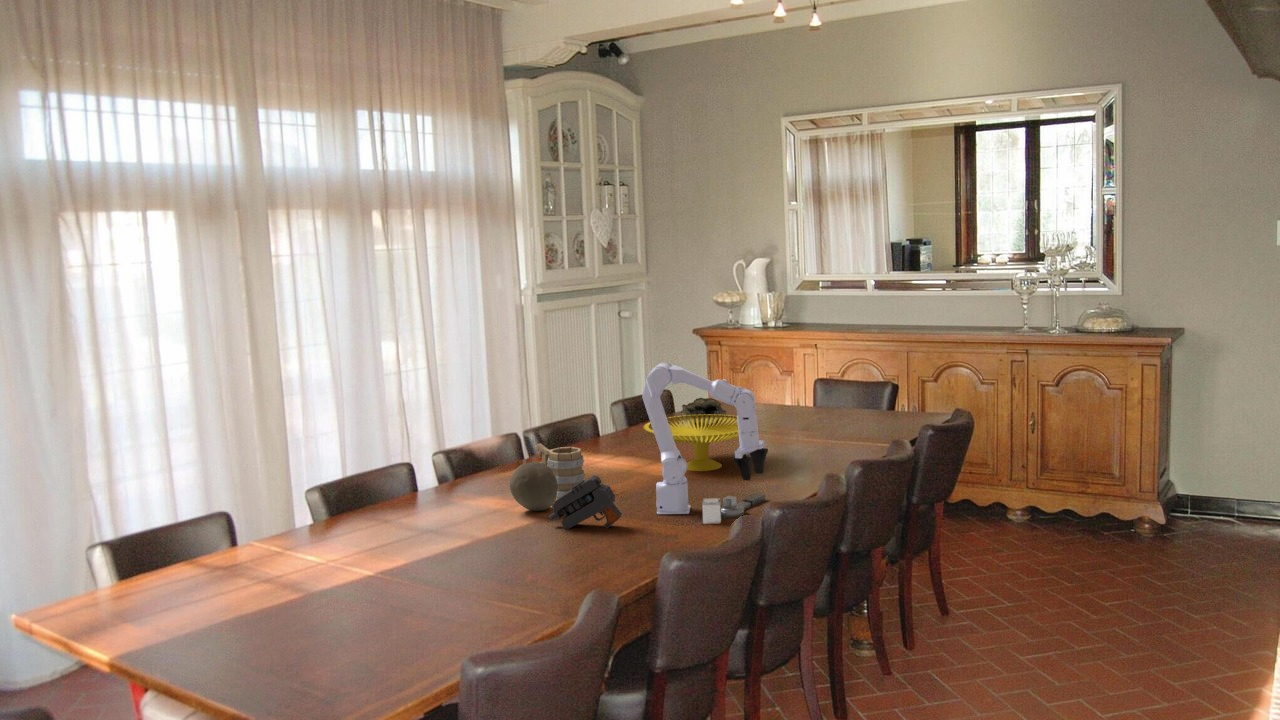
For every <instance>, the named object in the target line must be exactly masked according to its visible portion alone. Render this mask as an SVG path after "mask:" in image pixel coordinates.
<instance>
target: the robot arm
mask: <svg viewBox="0 0 1280 720" xmlns="http://www.w3.org/2000/svg"><path fill="white" fill-rule="evenodd" d="M670 383H671V385H677V384H683V383H684V384H686V385H689V386H692V387H694V388H698V389H700V390H703V391H705V392H708V393H709V395H710V398H712V399H715V400H716V401H718V402H722V403H725V404H727V405H729V406H734V408H735V409H736V416H737V418H736V420H737V422H736V423H738V424H737V425H738V433H739V436H738V441H739V442H738V443H739V447H738V448H737V449H736V450H735V451H734V456H733V457H732V461H733V462H734V463H735V464H736V467H737V468H738V470H739V472H740V475H741V478H742V480H743V481H751V477H752V473H751V471H752V470H751V468H752V462H753V469H754V473H755V474H756V475H757V474H758V475H762V474H764V466H765V461H766V457H767V455H768V452H769V449H768V448H767V447H766V442H765V440H760V437H759V424H758V416H757V414H756V412H757V411H756V410H757V409H756V406H755V405H756V395H755V393H754V391H752V390H750V389H749V388H745V387H744V388H743V386H742V385H741V386H740V385H739V386H737V385H734V384H732V383H729V382H728V380H727V379H725V378H723V379H722V380H721V379H720V378H718V379H716V380H710V379H708V378H706V377H703V376H701V375H699V374H697V373H694V372H692V371H691V370H688V369H686V368H684V367H681V366H679V365H675V364H671V363H669V362H666V361H665V362H659V363H658V364H657V365H656V366H655V367H653V368H651V371H650V372H649V373H648V375H646V379H645V384H644V386H643V392H642V396H641V397H642V401H643V404H644V407H645V409H646V413H647V415H648V416H647V417H648V419H649V422H651V424H650V425H652V426H651V427H652V428H653V431H654V434H655V435H654V434H653V435H654V437H655V439H656V443H657V446H658V449H659V452H660V463H661V466H662V469H661V470H662V471H661V475H662V478H663V479H662V481H658V482H656V488H655V495H656V498H655V499H656V503H655V505H656V514H657V515H689V514H690V512H691V511H690V510H691V507H692V506H691V505H690V504H689V491H688V490H689V488H688V485H689V484H688V478H687V477H686V475H685V474H686V473H687V471H688V470H687V461H686V460H685V458H683V457H682V455H681V452H680V450H679V449H678V447H677V444H676V442H675V441H674V438H673V435H672V432H671V429H670V428H671V427H670V426H669V424H670V422H669V421H668V420H667V418H668V417H667V414H666V412H665V411H666V410H665V408H664V405H663V402H662V399H661V396H662V394H663V392H664V391H665V390H666V389H665V388H666V387H667V386H668V385H669V384H670ZM757 424H758V425H757ZM652 428H651V429H652ZM748 455H750V456H748Z"/></svg>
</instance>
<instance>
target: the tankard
mask: <svg viewBox="0 0 1280 720" xmlns="http://www.w3.org/2000/svg"><path fill="white" fill-rule="evenodd" d="M534 449H535V452H539V451H540V452H541V463H543V464H545V465H547V466H548V467H549V468H550V469H551V470H552V471H553V473H554V475H555V477H556V480H557V484H558V490H557V496H556V498H557V499H558V498H559V497H560V496H562V495H563V494H565V493H566V492H568V491H570V490H571V489H572V488H573V487H574V486H575V485H576V484H578V483H580V482H581V481H583V480H584V481H585V476H586V474H585V470H584V469H583V466H584V462H585V459H584V455H583V454H582V448H581V447H574V446H565V447H562V446H561V447H557V448H556V447H555V448H553V449H552V448H551V449H549V448H547V447H546V446H545V445H543V444H542V443H541V442H540V443H538V444H536V445H535V446H534Z"/></svg>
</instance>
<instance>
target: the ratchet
mask: <svg viewBox="0 0 1280 720" xmlns="http://www.w3.org/2000/svg"><path fill="white" fill-rule="evenodd" d="M722 501H723V504H721V519H723V518H724V519H735V518H740V516H741V517H743V516H744V515H745V510H747V509H749V508H751V507H754V506H757V505H758V504H760V503H762V502H765V501H766V494H764V493H763V494H762V493H757V492H756V493H754V494H751V495H749V496H747V497H745V498H742V501H739V502H737V496H732V495H727V496H725V497H722ZM742 515H743V516H742Z"/></svg>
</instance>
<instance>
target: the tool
mask: <svg viewBox="0 0 1280 720" xmlns="http://www.w3.org/2000/svg"><path fill="white" fill-rule="evenodd" d="M615 501H616V495H615V493H614V492H613V490H612V488H611V486H610V485H607V484H603V483H602V480H601V478H600V477H599V476H598V475H595V474H593V475H592V476H591V477H588V478H587V479H584V480H583V481H581V482H580V483H578V484H576V485H575V486H574V487H573V488H572V489H571V490H570V491H568V492H566V493H565V494H563V495H562V496H560V497H559V498H558V497H557V498H556V500H555V502H554V503H553V504H552V505H551V508H552V511H553V513H551V514H549V515H548V518H549V520H550V521H552V522H553V521H555V520H557V519H558V520H560V519H562V517H563V516H564V515H565V516H564V517H563V519H562V520H561V522H560V524H561V525H562V527H563V528H564V529H566V530H569V529H571V528H572V527H575V526H577V525H578V524H580V523H581V522H584V521H586V520H587V519H589V518H591V517H593V518H594V519H595V520H596V521H598V522H599V521H602V520H603V519H604V518H605V519H606V522H605V523H604V524H603V526H604V527H605V528H606V529H609V528H610V527H611V526H613V524H615V523H616V522H617V521H619V520H620V519H621V517H622V515H623V514H622V512H621V511H620V510H619V508H618V507H617V506H616V504H614V502H615ZM596 514H600V515H601V516H602V517H600V518H599V517H598V516H597V515H596Z"/></svg>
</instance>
